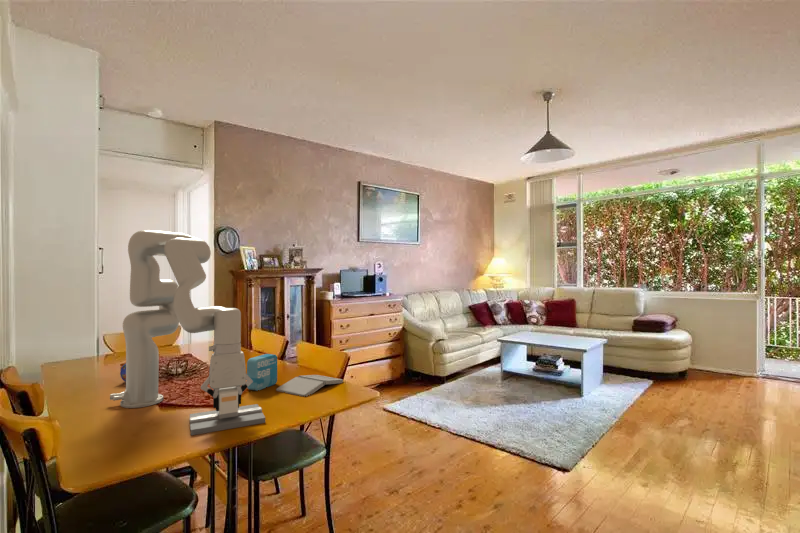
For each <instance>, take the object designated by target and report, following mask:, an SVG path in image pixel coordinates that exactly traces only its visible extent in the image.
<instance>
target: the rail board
mask: <svg viewBox="0 0 800 533" xmlns="http://www.w3.org/2000/svg"><path fill="white" fill-rule="evenodd" d="M265 423H266V416H265V415H264V412H263V408H262V407H261V406H259V404H258V403H255V404H247V405H241V406H239V408H238V416H234V417H228V418H222V419H220V418H219V411H216V409H213V410H208V411H203V412H202V411H201V412H195V413H189V429H190V436H196V435H201V434H207V433H213V432H218V431H224V430H230V429H236V428H241V427H243V428H244V427H248V426H253V425H254V426H255V425H258V424H265Z"/></svg>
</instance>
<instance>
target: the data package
mask: <svg viewBox="0 0 800 533" xmlns="http://www.w3.org/2000/svg"><path fill="white" fill-rule="evenodd" d="M246 374H247V375H248V376H249V377H250V378H251V379H252V380H253V383H251V384H250V385H249V386H248V387H247V388H246V389H248V390H250V391H257V392H259V391H260V390H263V389H266V387H267V388H269V387H272V386H274V385H276V384H277V382H278V356H277V355H276V354H272V353H264V354H261V355H257V356H254V357H250V358H249V359H247V362H246ZM258 390H259V391H258Z"/></svg>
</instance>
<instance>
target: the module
mask: <svg viewBox="0 0 800 533" xmlns="http://www.w3.org/2000/svg"><path fill="white" fill-rule="evenodd" d="M218 397H219V418H220V419H222V418H228V417H234V416H238V390H237V388H236V387H229V388H221V389H219V392H218Z"/></svg>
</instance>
